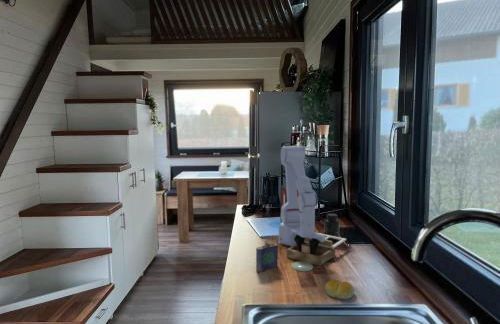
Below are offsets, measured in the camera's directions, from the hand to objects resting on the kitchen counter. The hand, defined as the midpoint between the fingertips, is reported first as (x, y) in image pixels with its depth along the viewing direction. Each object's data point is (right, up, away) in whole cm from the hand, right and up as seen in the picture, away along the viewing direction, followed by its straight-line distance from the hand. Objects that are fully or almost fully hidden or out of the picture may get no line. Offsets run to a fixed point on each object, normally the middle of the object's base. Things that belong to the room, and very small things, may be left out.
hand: (306, 255), depth 145 cm
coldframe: (+2, -1, +2) cm, 3 cm away
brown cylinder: (0, -1, 0) cm, 1 cm away
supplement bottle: (+15, +1, +23) cm, 27 cm away
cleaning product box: (-1, +4, +46) cm, 46 cm away
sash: (+9, +4, +10) cm, 14 cm away
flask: (-17, -3, -10) cm, 19 cm away
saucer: (-3, -2, -9) cm, 10 cm away
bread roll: (+6, -5, -29) cm, 30 cm away
